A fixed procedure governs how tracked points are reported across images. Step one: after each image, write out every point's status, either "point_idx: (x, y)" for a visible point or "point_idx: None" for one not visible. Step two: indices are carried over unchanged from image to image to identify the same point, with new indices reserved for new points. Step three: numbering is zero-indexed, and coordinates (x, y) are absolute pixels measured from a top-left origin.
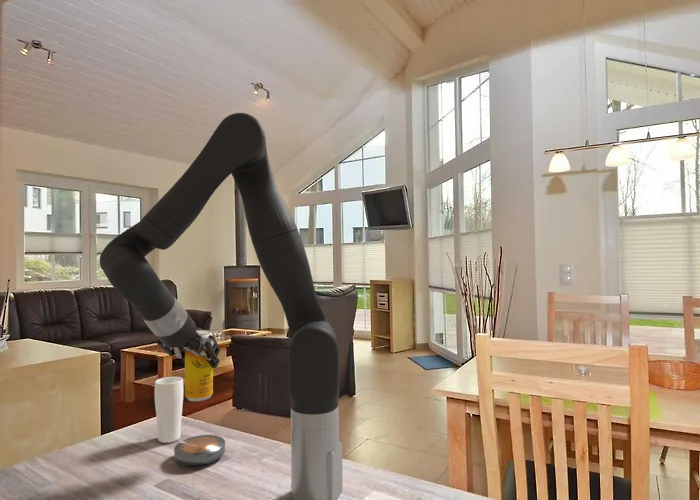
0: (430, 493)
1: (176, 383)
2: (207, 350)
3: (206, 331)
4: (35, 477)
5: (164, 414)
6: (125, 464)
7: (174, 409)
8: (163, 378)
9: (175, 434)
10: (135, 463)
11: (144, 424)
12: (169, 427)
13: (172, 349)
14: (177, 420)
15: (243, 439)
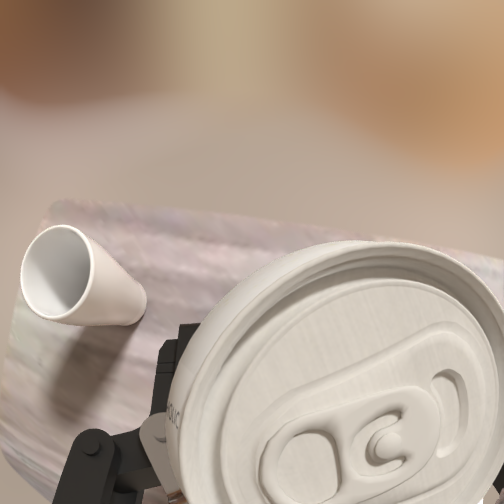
0: None
1: (92, 285)
2: (496, 483)
3: (384, 258)
4: (49, 476)
5: (108, 323)
6: (131, 421)
7: (122, 304)
8: (26, 256)
9: (142, 306)
10: (145, 413)
11: None
12: (129, 317)
13: (114, 486)
14: (134, 298)
15: (285, 244)
